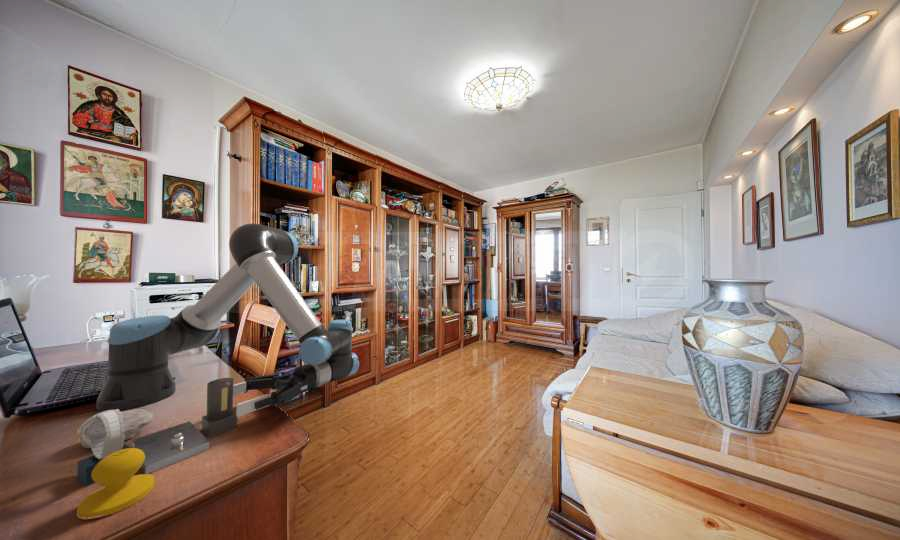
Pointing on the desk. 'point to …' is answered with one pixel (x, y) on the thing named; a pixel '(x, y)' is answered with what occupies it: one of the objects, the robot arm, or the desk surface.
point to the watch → (96, 431)
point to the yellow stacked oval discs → (117, 483)
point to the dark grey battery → (219, 407)
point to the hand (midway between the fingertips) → (225, 402)
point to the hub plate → (170, 446)
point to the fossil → (128, 424)
